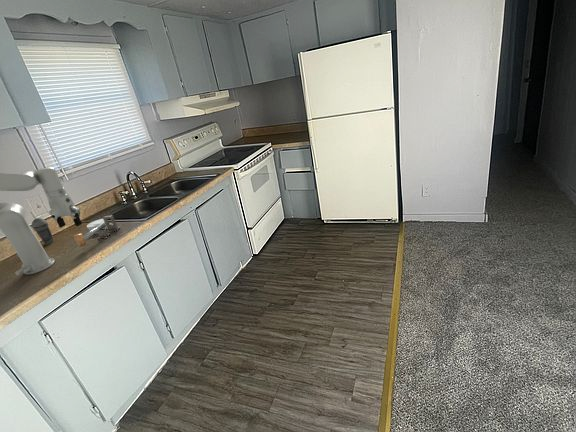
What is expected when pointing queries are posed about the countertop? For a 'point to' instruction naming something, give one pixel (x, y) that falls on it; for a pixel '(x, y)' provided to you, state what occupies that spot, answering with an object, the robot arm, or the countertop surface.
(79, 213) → the robot arm
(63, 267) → the countertop surface
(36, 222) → the beverage cup
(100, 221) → the ramekin
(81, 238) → the hook rod
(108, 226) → the eye post
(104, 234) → the cradle
